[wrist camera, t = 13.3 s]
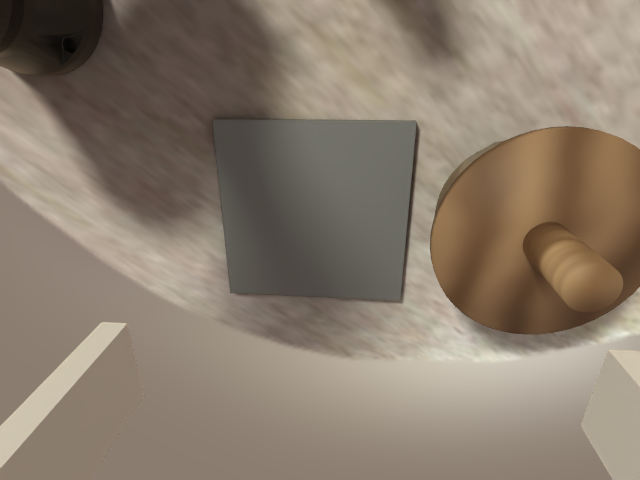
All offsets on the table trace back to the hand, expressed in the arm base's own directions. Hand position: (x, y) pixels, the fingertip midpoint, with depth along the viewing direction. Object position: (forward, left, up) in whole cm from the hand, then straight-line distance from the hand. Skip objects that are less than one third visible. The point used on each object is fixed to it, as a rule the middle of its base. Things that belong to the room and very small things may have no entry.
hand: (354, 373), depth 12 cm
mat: (-5, -9, -37) cm, 38 cm away
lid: (+17, -7, -27) cm, 32 cm away
